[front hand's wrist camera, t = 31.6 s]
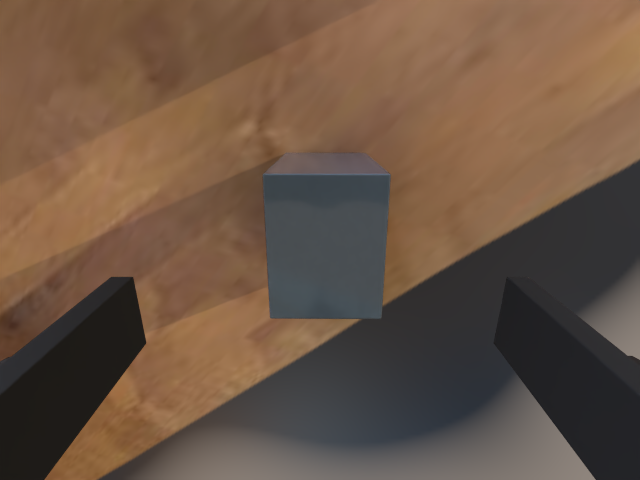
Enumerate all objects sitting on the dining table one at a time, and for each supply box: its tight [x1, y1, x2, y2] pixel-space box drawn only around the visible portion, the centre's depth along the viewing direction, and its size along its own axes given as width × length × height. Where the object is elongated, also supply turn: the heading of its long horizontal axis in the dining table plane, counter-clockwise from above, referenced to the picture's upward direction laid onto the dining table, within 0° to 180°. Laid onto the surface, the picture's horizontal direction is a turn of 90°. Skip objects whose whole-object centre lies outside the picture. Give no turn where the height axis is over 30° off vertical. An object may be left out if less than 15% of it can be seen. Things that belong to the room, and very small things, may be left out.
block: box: [263, 153, 391, 319], centre depth 25 cm, size 8×6×11 cm
